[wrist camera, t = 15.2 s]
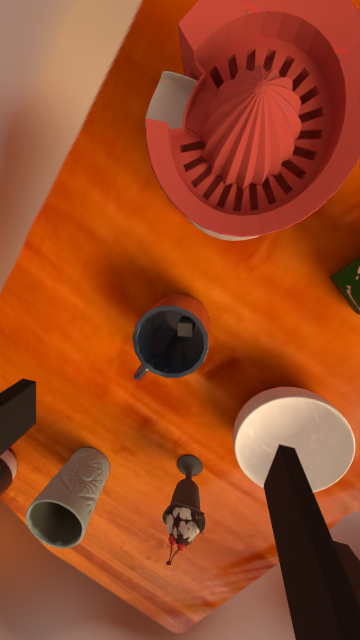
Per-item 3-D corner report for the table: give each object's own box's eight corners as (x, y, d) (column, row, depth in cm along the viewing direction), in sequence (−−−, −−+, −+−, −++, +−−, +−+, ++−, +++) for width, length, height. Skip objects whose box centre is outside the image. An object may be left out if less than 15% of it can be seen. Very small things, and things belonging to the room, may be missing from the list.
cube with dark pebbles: (177, 322, 36) (194, 323, 35) (179, 319, 38) (195, 319, 37) (177, 336, 36) (193, 337, 36) (179, 331, 38) (194, 332, 38)
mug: (176, 281, 37) (164, 289, 28) (222, 321, 38) (224, 341, 28) (128, 339, 41) (103, 363, 32) (170, 374, 41) (157, 407, 32)
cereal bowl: (327, 461, 41) (349, 501, 35) (230, 455, 44) (234, 491, 37) (337, 373, 37) (365, 399, 30) (230, 372, 40) (233, 396, 33)
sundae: (169, 472, 47) (149, 567, 33) (178, 446, 45) (162, 535, 31) (200, 483, 47) (195, 584, 32) (211, 458, 45) (210, 553, 30)
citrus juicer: (197, 93, 30) (168, -189, 11) (318, 152, 30) (500, -31, 11) (150, 212, 35) (72, 158, 16) (255, 265, 35) (306, 274, 16)
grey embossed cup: (77, 483, 51) (38, 549, 40) (61, 445, 49) (14, 503, 37) (120, 480, 49) (92, 548, 38) (105, 440, 47) (70, 499, 36)
